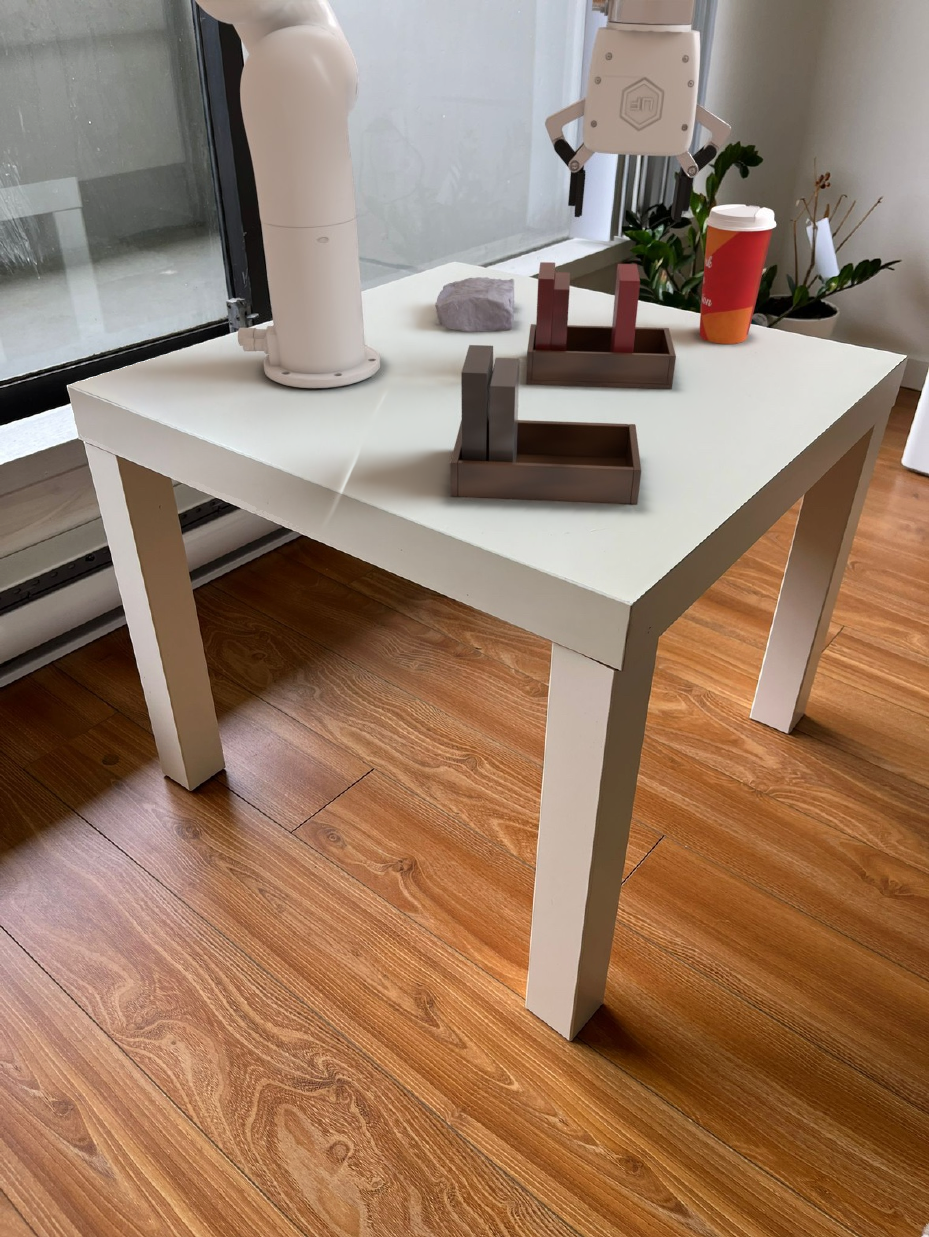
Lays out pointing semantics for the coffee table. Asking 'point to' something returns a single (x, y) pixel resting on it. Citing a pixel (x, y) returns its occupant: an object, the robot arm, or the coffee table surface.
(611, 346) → the burgundy book
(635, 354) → the brown open box
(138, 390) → the coffee table surface
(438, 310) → the stone block
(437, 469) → the coffee table surface
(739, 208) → the paper cup
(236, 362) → the coffee table surface
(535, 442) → the brown crate
